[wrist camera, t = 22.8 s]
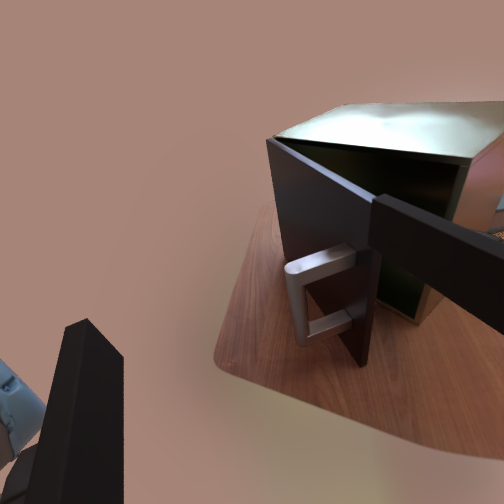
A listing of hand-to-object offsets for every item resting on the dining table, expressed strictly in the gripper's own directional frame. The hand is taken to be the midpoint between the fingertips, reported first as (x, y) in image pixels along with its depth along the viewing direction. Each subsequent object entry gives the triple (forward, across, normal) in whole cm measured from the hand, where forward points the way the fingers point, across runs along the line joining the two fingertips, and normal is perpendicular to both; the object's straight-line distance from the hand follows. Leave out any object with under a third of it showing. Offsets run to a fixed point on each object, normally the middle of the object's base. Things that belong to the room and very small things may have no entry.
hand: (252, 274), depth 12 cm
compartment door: (+17, +10, -26) cm, 33 cm away
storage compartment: (+20, +28, -26) cm, 43 cm away
